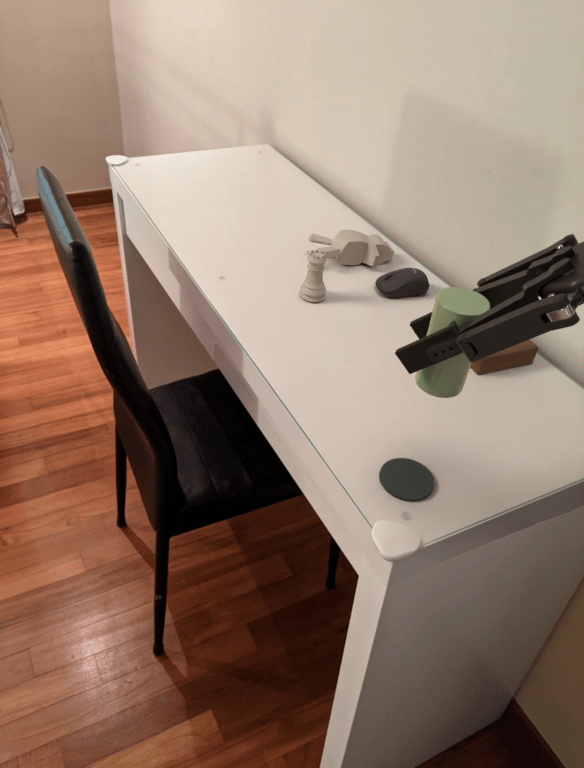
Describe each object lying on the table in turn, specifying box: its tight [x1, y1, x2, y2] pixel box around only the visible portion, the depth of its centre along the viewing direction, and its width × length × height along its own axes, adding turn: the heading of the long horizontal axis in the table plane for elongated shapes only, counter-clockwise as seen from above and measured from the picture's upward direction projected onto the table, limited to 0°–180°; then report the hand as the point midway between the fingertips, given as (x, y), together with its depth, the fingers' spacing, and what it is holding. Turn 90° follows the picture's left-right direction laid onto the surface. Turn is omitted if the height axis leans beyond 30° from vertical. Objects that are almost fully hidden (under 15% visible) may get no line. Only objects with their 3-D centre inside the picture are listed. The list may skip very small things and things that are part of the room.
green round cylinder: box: [414, 286, 490, 399], centre depth 60 cm, size 5×5×10 cm
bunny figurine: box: [308, 229, 395, 267], centre depth 111 cm, size 10×5×15 cm
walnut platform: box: [470, 339, 540, 376], centre depth 93 cm, size 10×10×3 cm
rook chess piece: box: [299, 248, 328, 304], centre depth 99 cm, size 4×4×8 cm
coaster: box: [378, 457, 435, 502], centre depth 71 cm, size 6×6×1 cm
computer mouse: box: [374, 267, 430, 299], centre depth 104 cm, size 6×9×4 cm, turn 104°
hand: (410, 346), depth 63 cm, fingers closed on green round cylinder, 5 cm apart
